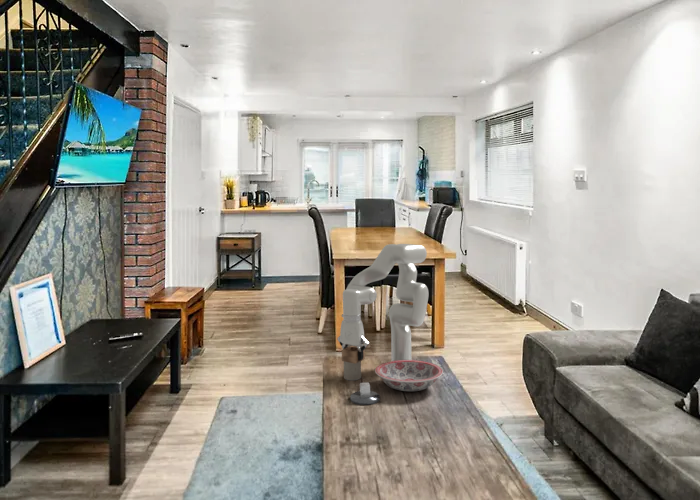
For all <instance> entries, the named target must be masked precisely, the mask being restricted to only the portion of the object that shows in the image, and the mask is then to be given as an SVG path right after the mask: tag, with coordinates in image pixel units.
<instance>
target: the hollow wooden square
mask: <svg viewBox="0 0 700 500" xmlns="http://www.w3.org/2000/svg"><path fill="white" fill-rule="evenodd" d="M358 351H359V350H358V348H357V347H356V346H349V347H347V348H345V349H341V361H342V362H344V361H345V362H349V363H354V364H356V363H358V362H360V361H361V362H362V361H364V360H366V358H365V357H366V353H365V351H366V350H364V351H363V355H364V357H363V359H362V360H360V361H358Z"/></svg>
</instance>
